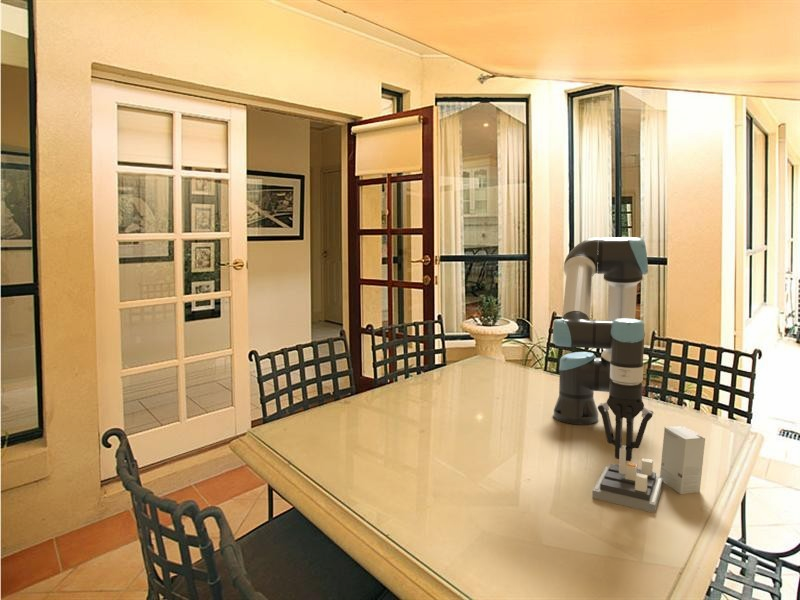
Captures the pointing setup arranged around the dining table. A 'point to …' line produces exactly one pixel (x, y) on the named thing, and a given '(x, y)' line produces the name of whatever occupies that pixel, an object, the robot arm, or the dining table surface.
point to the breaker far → (646, 466)
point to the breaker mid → (630, 471)
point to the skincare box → (682, 459)
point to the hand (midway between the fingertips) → (622, 471)
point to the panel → (628, 499)
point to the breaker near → (641, 482)
